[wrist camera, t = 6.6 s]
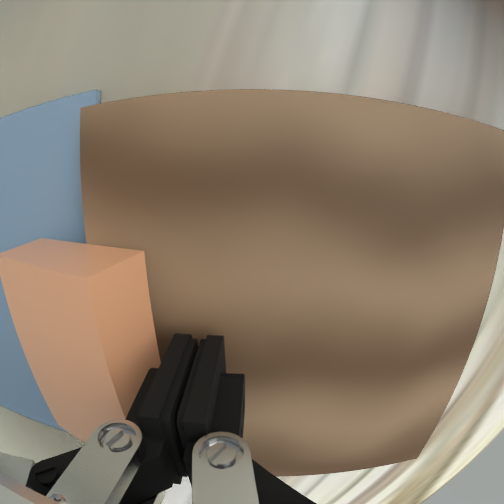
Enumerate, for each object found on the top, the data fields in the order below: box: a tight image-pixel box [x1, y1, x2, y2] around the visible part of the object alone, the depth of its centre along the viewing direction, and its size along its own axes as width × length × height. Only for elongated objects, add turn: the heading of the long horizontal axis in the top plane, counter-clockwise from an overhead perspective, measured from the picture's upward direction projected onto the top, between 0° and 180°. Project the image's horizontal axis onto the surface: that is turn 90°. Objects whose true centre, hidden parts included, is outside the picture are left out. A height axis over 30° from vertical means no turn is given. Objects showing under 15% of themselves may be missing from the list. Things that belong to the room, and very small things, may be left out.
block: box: [0, 238, 161, 443], centre depth 10 cm, size 9×6×2 cm, turn 0°
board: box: [80, 89, 504, 476], centre depth 12 cm, size 18×16×2 cm
